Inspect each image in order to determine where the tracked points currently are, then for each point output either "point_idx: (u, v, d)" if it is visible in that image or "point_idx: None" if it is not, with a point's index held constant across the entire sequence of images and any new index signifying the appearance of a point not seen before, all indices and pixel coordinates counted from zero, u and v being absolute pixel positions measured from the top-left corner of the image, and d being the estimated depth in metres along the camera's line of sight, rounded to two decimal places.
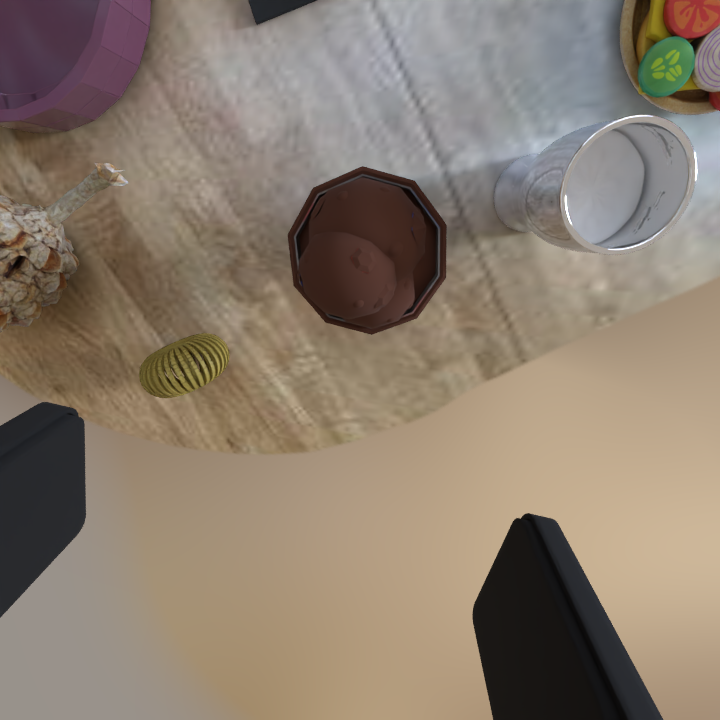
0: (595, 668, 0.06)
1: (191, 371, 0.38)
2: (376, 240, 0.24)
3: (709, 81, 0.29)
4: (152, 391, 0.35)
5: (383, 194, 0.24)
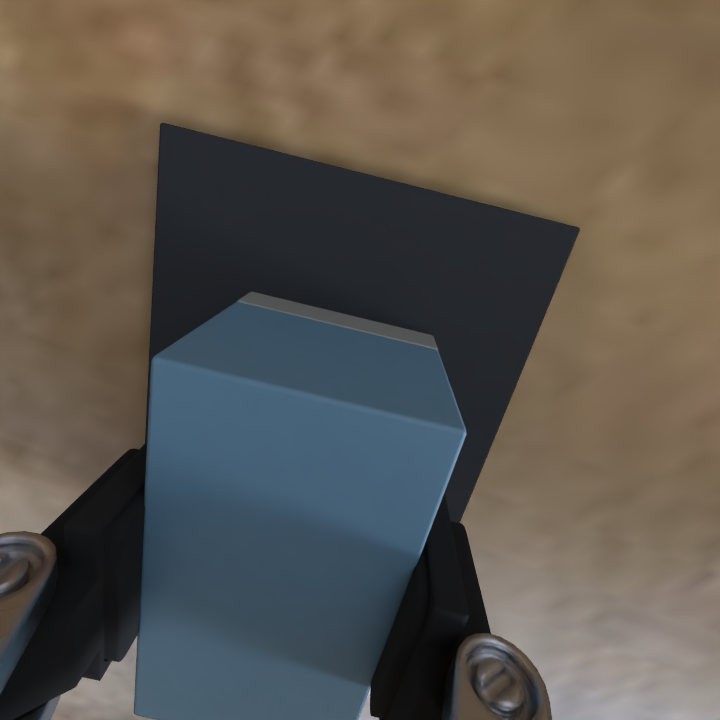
0: (424, 562, 0.07)
1: None
2: None
3: None
4: None
5: None
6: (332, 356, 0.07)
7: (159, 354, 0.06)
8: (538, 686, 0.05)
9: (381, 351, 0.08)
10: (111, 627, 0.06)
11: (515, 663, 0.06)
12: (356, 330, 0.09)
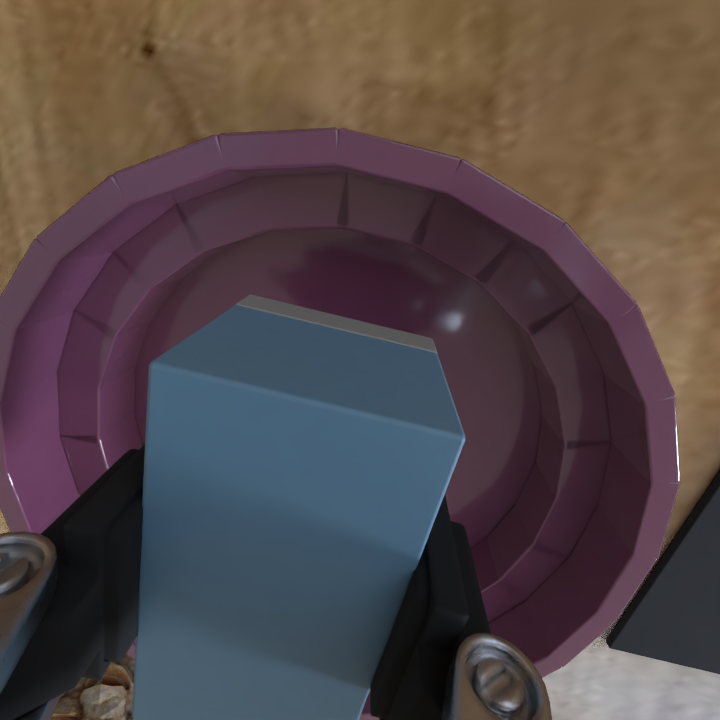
0: (424, 562, 0.07)
1: None
2: None
3: None
4: None
5: None
6: (331, 360, 0.07)
7: (157, 359, 0.06)
8: (537, 686, 0.05)
9: (380, 355, 0.08)
10: (111, 627, 0.06)
11: (515, 663, 0.06)
12: (355, 333, 0.09)
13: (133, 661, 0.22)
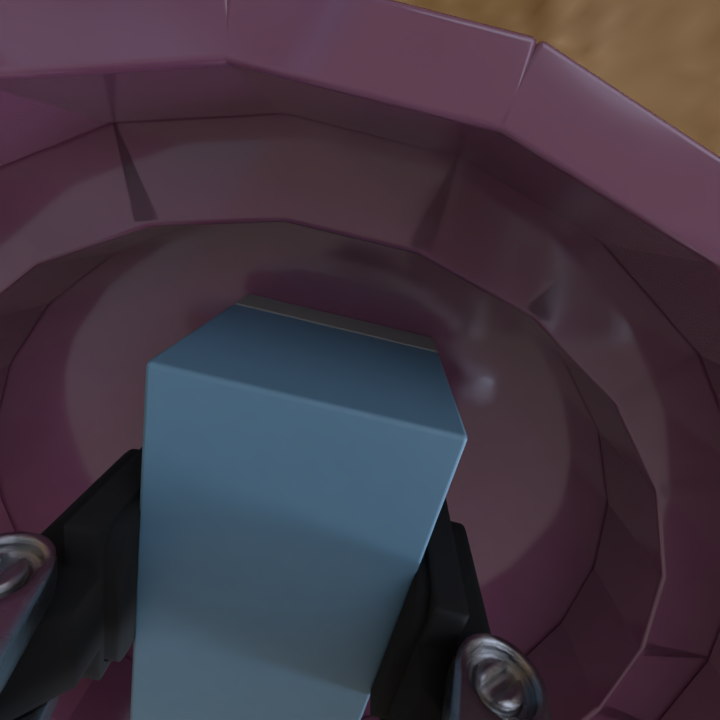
0: (424, 562, 0.07)
1: None
2: None
3: None
4: None
5: None
6: (331, 359, 0.07)
7: (154, 358, 0.06)
8: (537, 686, 0.05)
9: (381, 354, 0.08)
10: (111, 627, 0.06)
11: (515, 663, 0.06)
12: (355, 333, 0.09)
13: None
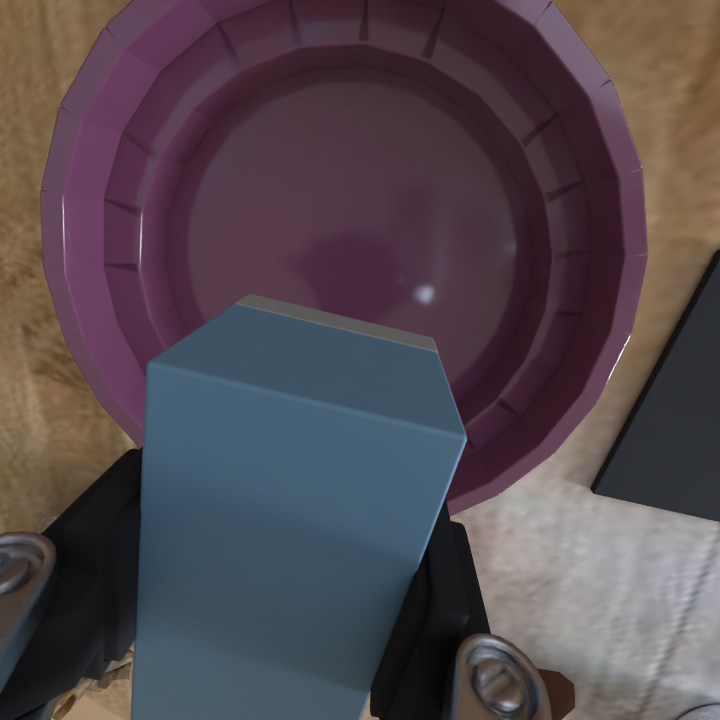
0: (424, 562, 0.07)
1: None
2: None
3: None
4: None
5: None
6: (331, 360, 0.07)
7: (155, 359, 0.06)
8: (537, 686, 0.05)
9: (380, 355, 0.08)
10: (111, 627, 0.06)
11: (515, 663, 0.06)
12: (355, 333, 0.09)
13: None
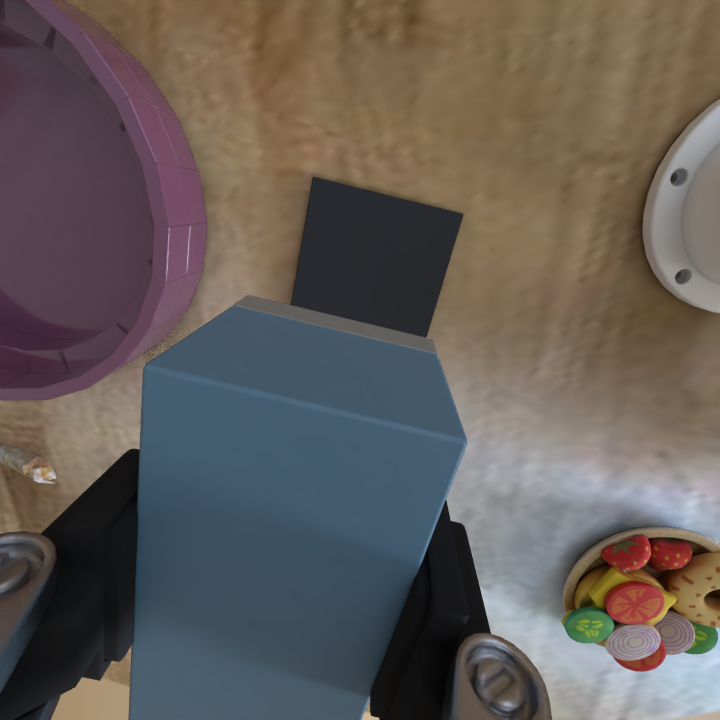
0: (424, 562, 0.07)
1: None
2: None
3: (612, 650, 0.32)
4: None
5: None
6: (329, 362, 0.07)
7: (151, 361, 0.05)
8: (538, 686, 0.05)
9: (379, 356, 0.08)
10: (111, 627, 0.06)
11: (515, 663, 0.06)
12: (354, 334, 0.09)
13: None
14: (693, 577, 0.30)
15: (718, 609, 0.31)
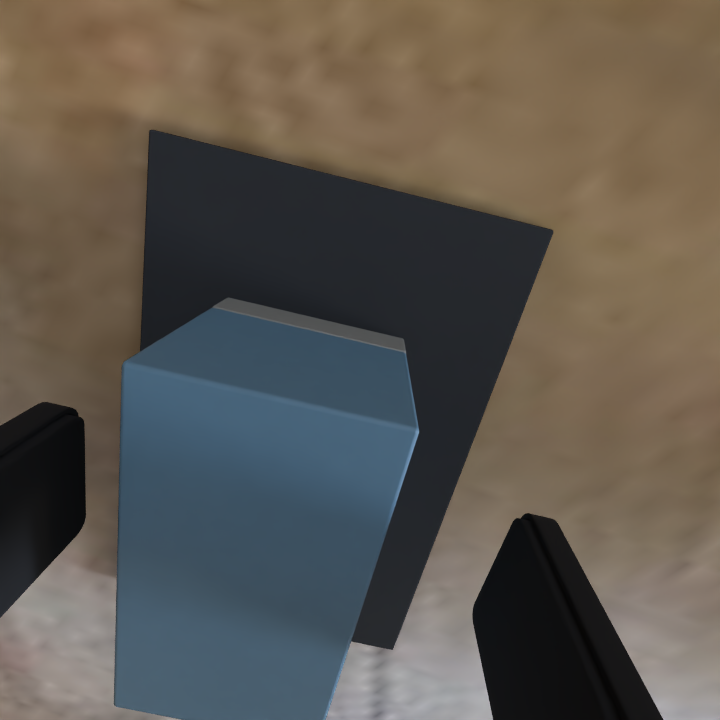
0: (595, 668, 0.06)
1: None
2: None
3: None
4: None
5: None
6: (299, 359, 0.07)
7: (130, 359, 0.06)
8: None
9: (348, 354, 0.08)
10: None
11: None
12: (327, 334, 0.09)
13: None
14: None
15: None
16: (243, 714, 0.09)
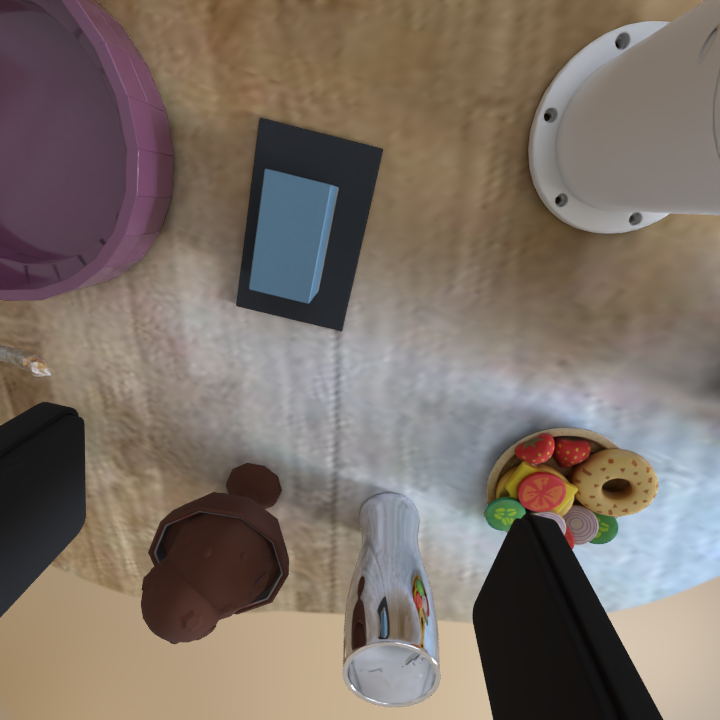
0: (595, 668, 0.06)
1: None
2: (212, 602, 0.28)
3: None
4: None
5: (238, 565, 0.29)
6: None
7: None
8: None
9: None
10: None
11: None
12: None
13: None
14: (591, 469, 0.36)
15: (614, 499, 0.36)
16: (287, 289, 0.29)
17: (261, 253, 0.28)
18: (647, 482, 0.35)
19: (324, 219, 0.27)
